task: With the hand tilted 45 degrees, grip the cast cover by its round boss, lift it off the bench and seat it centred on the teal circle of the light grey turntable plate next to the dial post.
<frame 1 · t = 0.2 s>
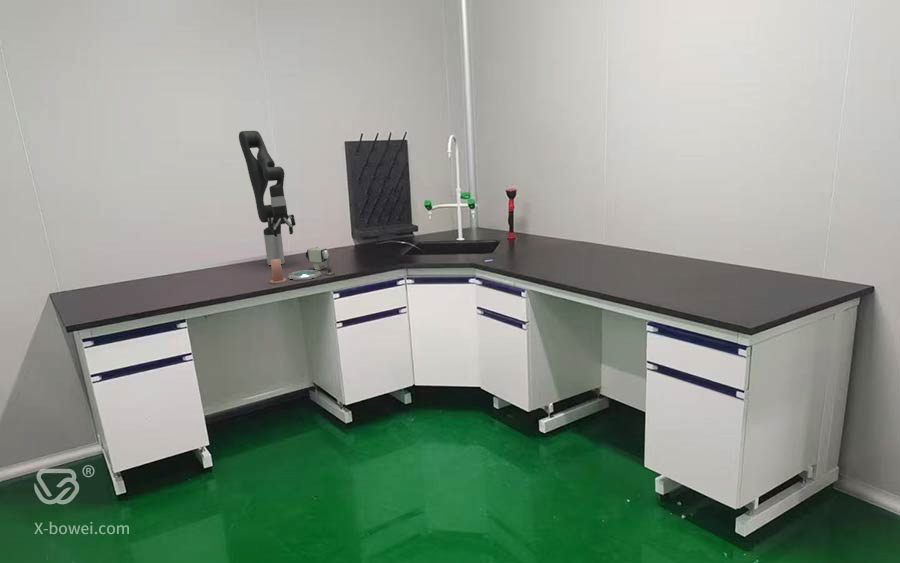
hand: (283, 235, 308), 18 cm above the worktop, tool pointing down, fingers open, 8 cm apart
pneumatic valve: (319, 269, 305), on the worktop
cast cover: (278, 281, 281), on the worktop
turntable: (304, 276, 290), on the worktop
dial post: (329, 274, 292), on the worktop
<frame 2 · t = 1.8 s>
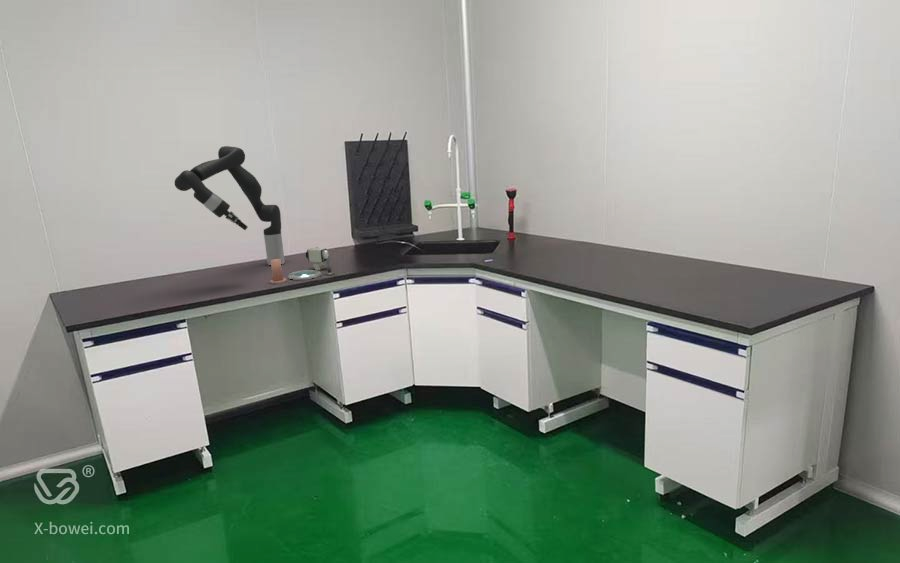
hand: (245, 227, 273), 28 cm above the worktop, tool tilted 45°, fingers open, 8 cm apart
nothing on the worktop moved.
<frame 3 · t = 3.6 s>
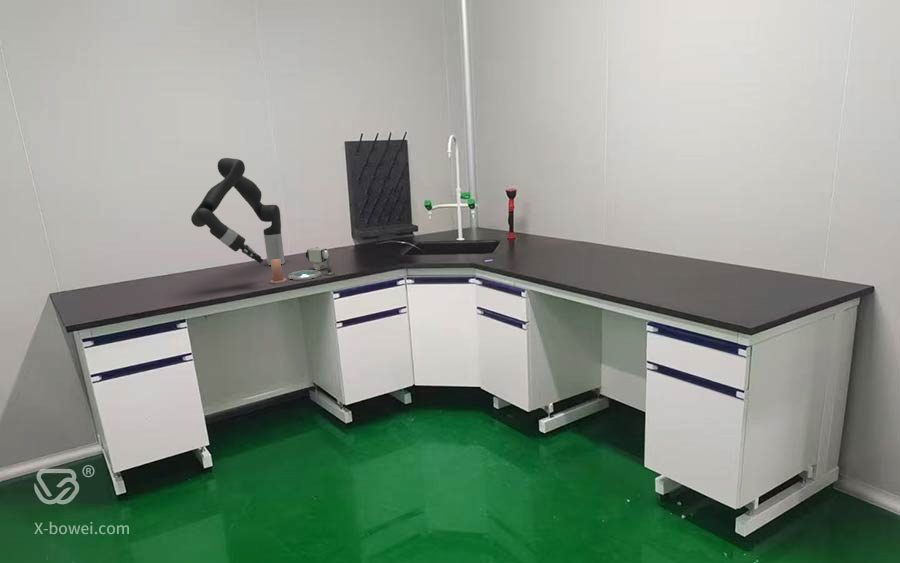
hand: (260, 260, 276), 12 cm above the worktop, tool tilted 45°, fingers open, 8 cm apart
nothing on the worktop moved.
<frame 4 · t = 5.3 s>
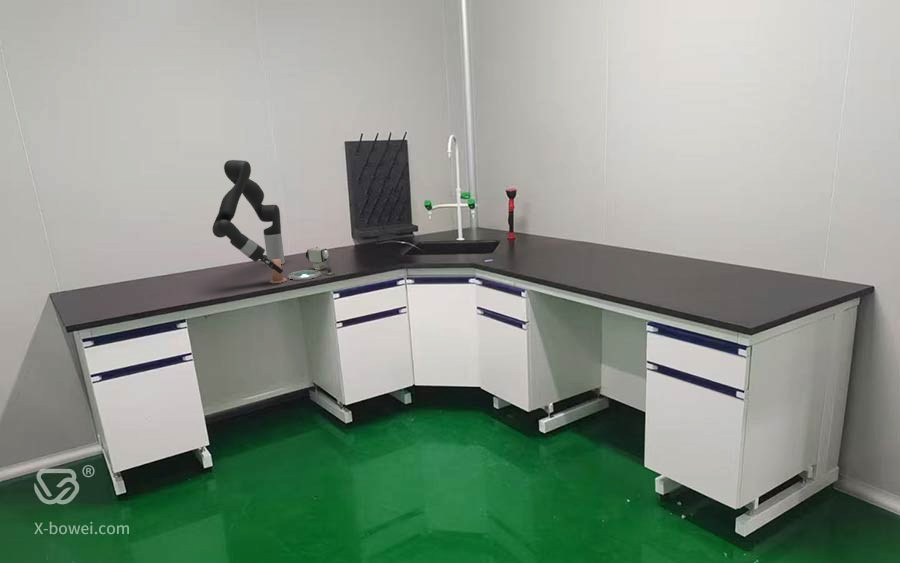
hand: (280, 271, 281), 5 cm above the worktop, tool tilted 45°, fingers closed on cast cover, 4 cm apart
cast cover: (278, 281, 281), on the worktop, touching gripper
everything else where it was.
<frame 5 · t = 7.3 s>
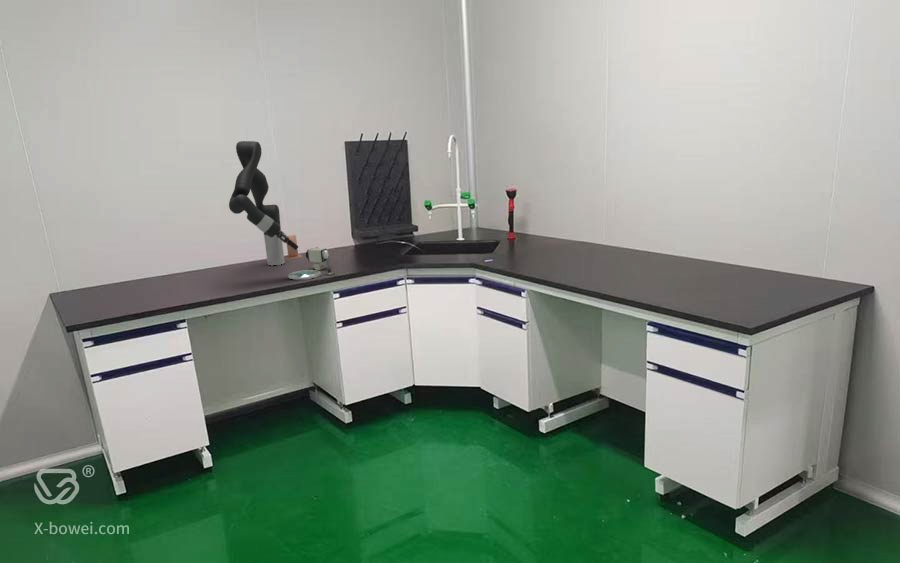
hand: (296, 247, 284), 15 cm above the worktop, tool tilted 45°, fingers closed on cast cover, 4 cm apart
cast cover: (293, 257, 285), point 10 cm above the worktop, touching gripper
everything else where it was.
when the fingers open (8 cm above the worktop, at t = 9.6 s): cast cover stays where it is, resting on turntable.
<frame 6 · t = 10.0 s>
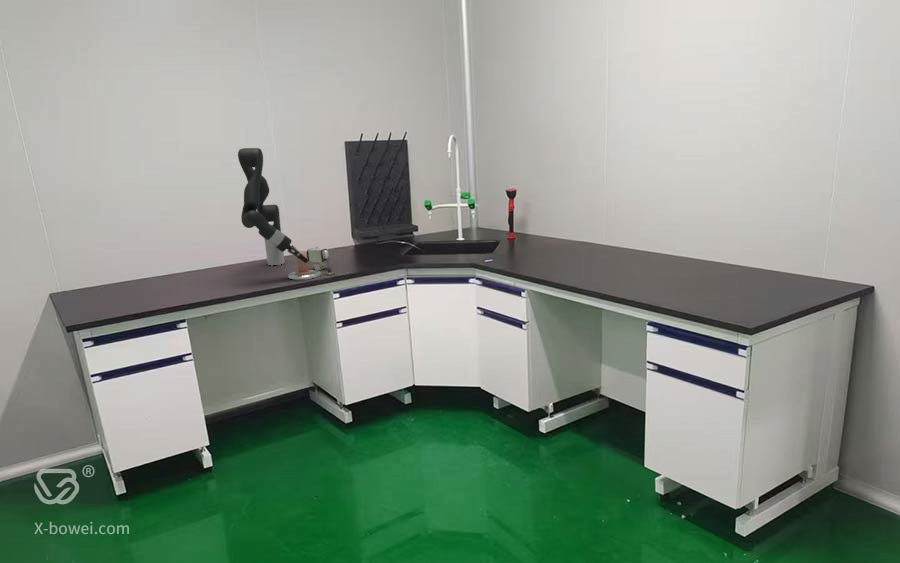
hand: (305, 260, 288), 8 cm above the worktop, tool tilted 45°, fingers open, 8 cm apart
cast cover: (303, 273, 289), point 2 cm above the worktop, touching turntable
everything else where it was.
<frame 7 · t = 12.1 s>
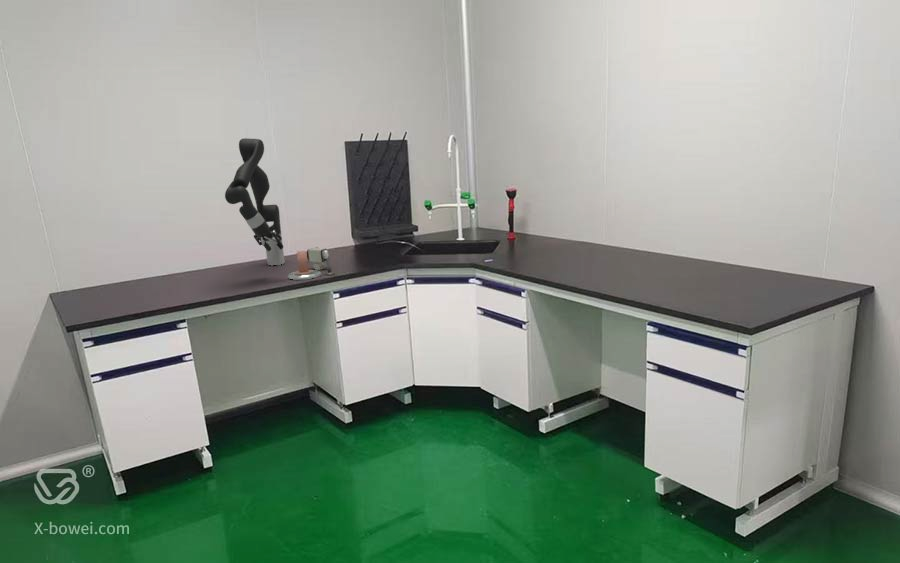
hand: (276, 249, 285), 15 cm above the worktop, tool tilted 30°, fingers open, 8 cm apart
nothing on the worktop moved.
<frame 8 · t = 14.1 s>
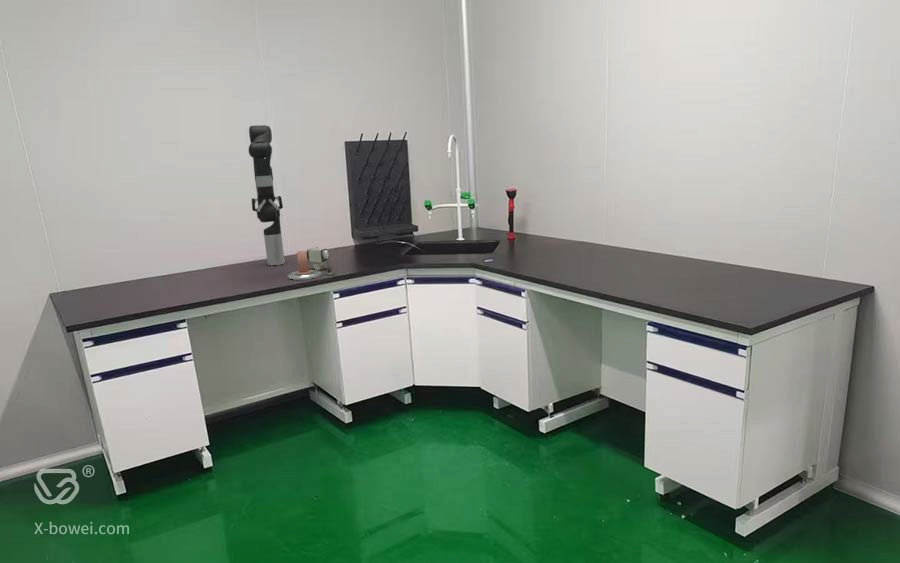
hand: (269, 218, 282), 30 cm above the worktop, tool pointing down, fingers open, 8 cm apart
nothing on the worktop moved.
at the end: cast cover 0.1 cm off-centre on the turntable, point 1.6 cm above the turntable's base; cast cover tilted 0°; the gripper is holding nothing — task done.
